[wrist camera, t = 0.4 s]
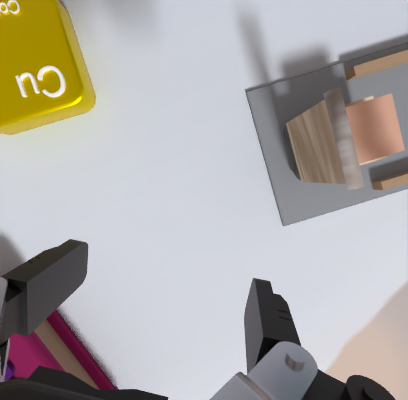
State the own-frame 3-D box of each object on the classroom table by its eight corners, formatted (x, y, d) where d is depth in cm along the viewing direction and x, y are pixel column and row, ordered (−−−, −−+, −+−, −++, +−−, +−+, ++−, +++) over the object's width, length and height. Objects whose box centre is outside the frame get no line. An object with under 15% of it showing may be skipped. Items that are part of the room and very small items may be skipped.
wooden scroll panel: (293, 185, 37) (353, 190, 23) (277, 124, 36) (328, 90, 22) (366, 162, 37) (473, 153, 22) (352, 101, 36) (452, 51, 22)
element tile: (66, 2, 35) (45, -26, 30) (101, 109, 36) (86, 99, 32) (-37, 33, 35) (-74, 10, 30) (1, 139, 36) (-29, 133, 32)
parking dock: (283, 225, 38) (291, 230, 34) (246, 93, 36) (251, 84, 33) (463, 170, 38) (490, 170, 34) (435, 34, 36) (460, 19, 32)
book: (29, 475, 41) (-10, 542, 34) (-82, 341, 39) (-150, 380, 31) (135, 408, 41) (120, 461, 33) (28, 267, 38) (-14, 289, 31)
